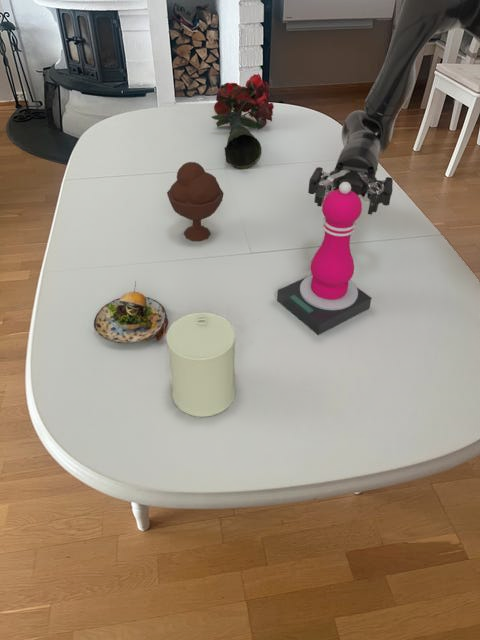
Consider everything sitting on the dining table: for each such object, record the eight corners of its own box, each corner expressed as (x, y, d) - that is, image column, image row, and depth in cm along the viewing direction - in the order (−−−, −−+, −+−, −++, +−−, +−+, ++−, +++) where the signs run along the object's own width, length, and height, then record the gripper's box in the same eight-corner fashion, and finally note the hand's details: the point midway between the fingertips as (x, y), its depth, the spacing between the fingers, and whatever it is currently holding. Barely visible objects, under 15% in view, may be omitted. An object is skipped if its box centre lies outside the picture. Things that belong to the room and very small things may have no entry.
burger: (81, 326, 86) (72, 291, 81) (137, 294, 93) (132, 259, 88) (126, 362, 80) (119, 326, 75) (183, 325, 87) (180, 289, 82)
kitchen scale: (326, 277, 97) (328, 264, 96) (369, 308, 91) (372, 295, 89) (276, 300, 92) (277, 287, 90) (318, 335, 86) (320, 322, 84)
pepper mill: (318, 305, 87) (333, 197, 73) (301, 280, 92) (313, 174, 79) (357, 297, 88) (379, 190, 75) (339, 273, 94) (356, 169, 80)
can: (234, 368, 80) (234, 308, 72) (236, 416, 73) (237, 356, 65) (173, 369, 79) (167, 309, 71) (170, 418, 72) (163, 357, 64)
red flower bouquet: (247, 195, 137) (232, 135, 161) (304, 150, 130) (279, 95, 154) (207, 155, 127) (198, 98, 152) (266, 104, 120) (246, 53, 145)
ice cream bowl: (162, 243, 105) (155, 174, 95) (184, 216, 113) (179, 150, 103) (211, 253, 103) (209, 183, 93) (230, 225, 111) (230, 158, 101)
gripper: (322, 140, 97) (305, 178, 86) (399, 150, 94) (393, 191, 83) (317, 177, 102) (301, 218, 91) (391, 188, 99) (383, 232, 88)
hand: (345, 205), depth 87 cm, fingers open, 8 cm apart
